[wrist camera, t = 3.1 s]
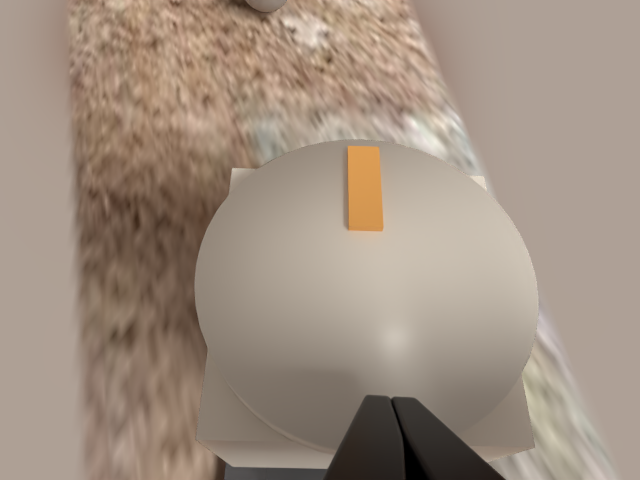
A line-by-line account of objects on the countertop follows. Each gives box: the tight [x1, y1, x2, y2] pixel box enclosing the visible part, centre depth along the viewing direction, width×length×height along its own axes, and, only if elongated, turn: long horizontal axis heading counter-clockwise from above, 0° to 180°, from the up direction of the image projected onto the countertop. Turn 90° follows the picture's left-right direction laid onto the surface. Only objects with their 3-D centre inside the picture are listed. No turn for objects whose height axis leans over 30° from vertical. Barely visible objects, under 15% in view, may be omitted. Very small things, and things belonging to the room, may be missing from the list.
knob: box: [194, 140, 539, 469], centre depth 14 cm, size 8×8×7 cm
